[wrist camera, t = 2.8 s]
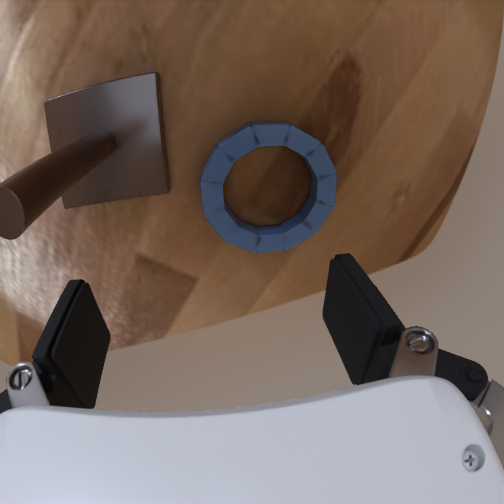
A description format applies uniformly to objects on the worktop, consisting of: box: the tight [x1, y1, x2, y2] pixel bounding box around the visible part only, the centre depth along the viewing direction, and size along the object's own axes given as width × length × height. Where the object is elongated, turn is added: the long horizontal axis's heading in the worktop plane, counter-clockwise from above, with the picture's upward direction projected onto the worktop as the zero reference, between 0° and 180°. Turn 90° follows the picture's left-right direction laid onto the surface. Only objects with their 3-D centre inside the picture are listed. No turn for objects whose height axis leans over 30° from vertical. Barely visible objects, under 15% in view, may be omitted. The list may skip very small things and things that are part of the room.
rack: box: [0, 72, 170, 240], centre depth 13 cm, size 9×9×13 cm
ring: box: [200, 121, 337, 253], centre depth 22 cm, size 10×10×2 cm
